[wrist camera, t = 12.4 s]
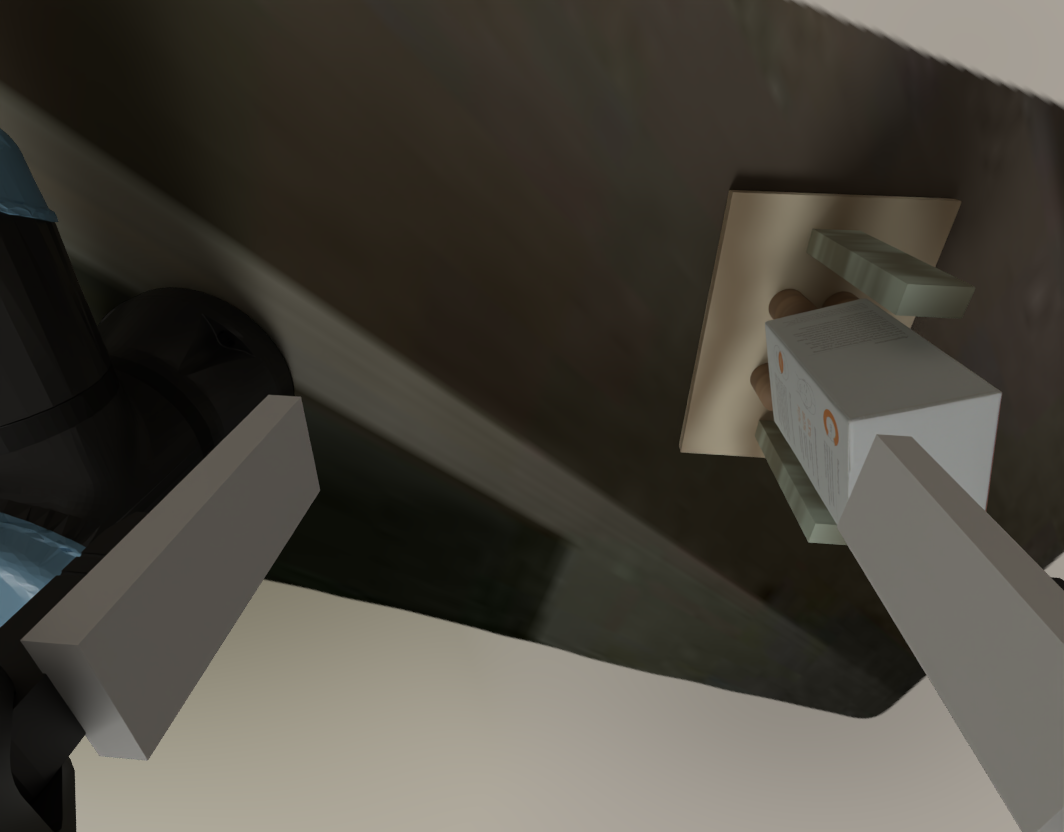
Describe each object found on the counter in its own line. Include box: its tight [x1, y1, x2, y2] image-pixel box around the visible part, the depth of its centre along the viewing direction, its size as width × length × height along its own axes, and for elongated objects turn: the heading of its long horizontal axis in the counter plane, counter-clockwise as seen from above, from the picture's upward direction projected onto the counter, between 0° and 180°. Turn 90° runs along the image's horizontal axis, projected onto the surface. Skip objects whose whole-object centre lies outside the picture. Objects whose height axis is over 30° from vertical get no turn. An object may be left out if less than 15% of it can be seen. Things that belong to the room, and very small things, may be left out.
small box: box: [765, 299, 1002, 525], centre depth 31 cm, size 8×6×13 cm
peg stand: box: [679, 190, 976, 545], centre depth 35 cm, size 14×20×13 cm
